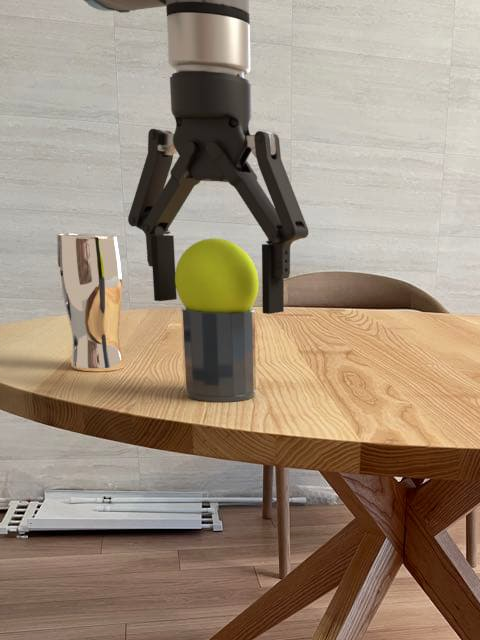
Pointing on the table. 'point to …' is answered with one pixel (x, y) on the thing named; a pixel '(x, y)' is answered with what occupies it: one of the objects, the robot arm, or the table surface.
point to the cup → (219, 355)
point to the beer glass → (92, 298)
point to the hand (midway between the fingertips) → (217, 306)
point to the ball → (216, 278)
